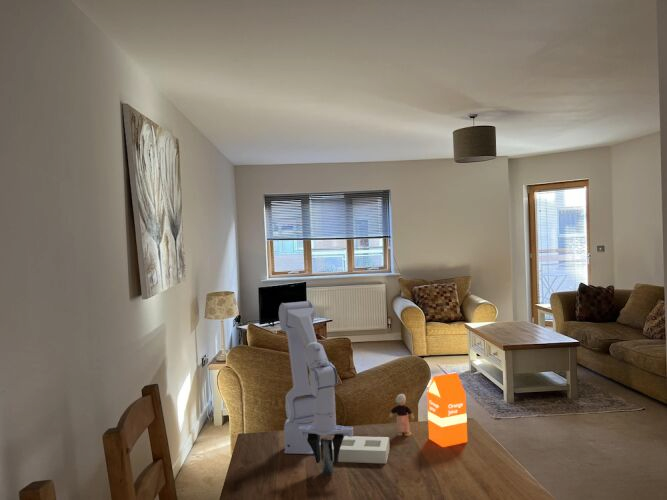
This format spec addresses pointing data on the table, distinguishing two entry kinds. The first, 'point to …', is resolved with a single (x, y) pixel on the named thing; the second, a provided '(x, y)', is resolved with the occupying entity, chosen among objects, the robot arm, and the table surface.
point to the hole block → (363, 449)
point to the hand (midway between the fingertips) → (327, 461)
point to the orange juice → (447, 410)
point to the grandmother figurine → (402, 415)
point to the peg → (327, 456)
